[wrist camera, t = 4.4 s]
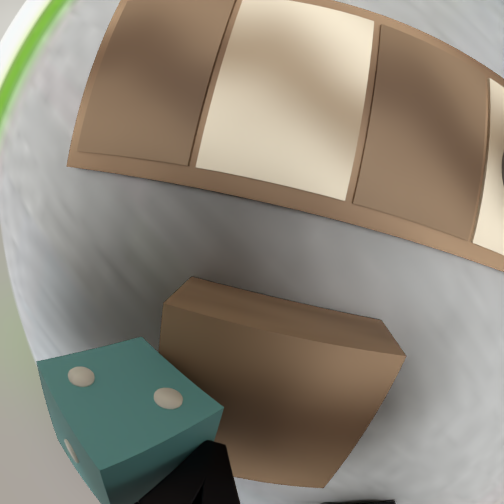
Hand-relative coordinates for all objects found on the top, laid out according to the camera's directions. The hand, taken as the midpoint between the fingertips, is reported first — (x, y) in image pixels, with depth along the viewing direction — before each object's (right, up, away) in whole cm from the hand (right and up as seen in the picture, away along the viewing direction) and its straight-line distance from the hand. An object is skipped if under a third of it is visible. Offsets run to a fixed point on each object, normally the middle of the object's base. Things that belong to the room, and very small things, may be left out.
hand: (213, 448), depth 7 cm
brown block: (+2, 0, +5) cm, 5 cm away
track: (+5, +12, +2) cm, 13 cm away
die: (-2, +1, +1) cm, 2 cm away
